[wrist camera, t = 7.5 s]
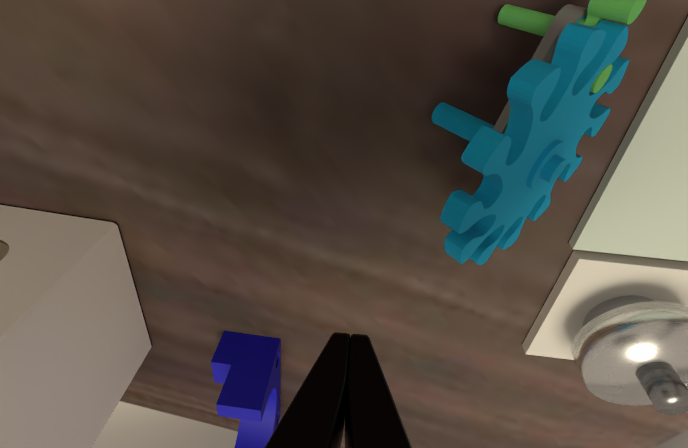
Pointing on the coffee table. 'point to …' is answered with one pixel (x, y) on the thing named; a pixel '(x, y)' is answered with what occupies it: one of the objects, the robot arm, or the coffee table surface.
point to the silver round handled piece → (637, 355)
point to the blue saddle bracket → (249, 385)
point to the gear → (535, 122)
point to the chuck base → (601, 295)
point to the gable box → (64, 328)
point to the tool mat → (647, 175)
